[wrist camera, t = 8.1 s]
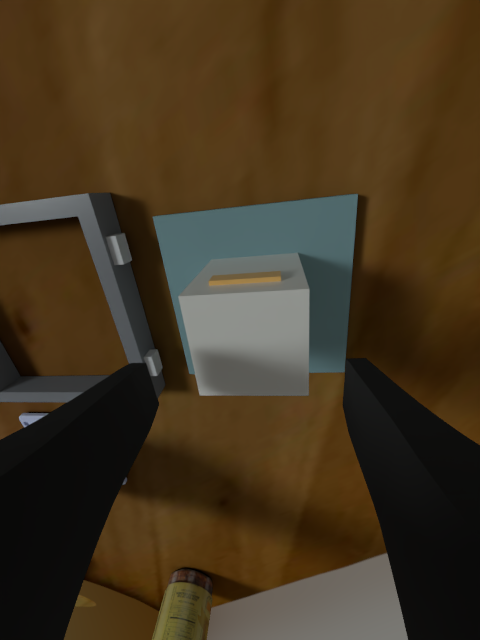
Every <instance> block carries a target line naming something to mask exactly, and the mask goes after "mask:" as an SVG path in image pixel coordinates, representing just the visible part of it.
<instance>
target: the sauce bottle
mask: <svg viewBox="0 0 480 640" xmlns="http://www.w3.org/2000/svg"><path fill="white" fill-rule="evenodd" d="M212 586H213V584H212V581H211V579H210V578H209V577H207V576H206V575H204V574H203V573H200V572H198V571H195V570H192V569H187V568H185V569H180V570H177V571H175V572H173V573H172V574H171V576H170V579H169V583H168V587H167V589H166V591H165V594H164V598H163V601H162V605H161V609H160V612H159V616H158V620H157V624H156V627H155V631H154V634H153V638H152V640H207V633H208V626H209V619H210V611H211V605H212V590H213V587H212Z"/></svg>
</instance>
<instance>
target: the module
mask: <svg viewBox="0 0 480 640" xmlns="http://www.w3.org/2000/svg"><path fill="white" fill-rule="evenodd" d="M178 298H179V303H180V307H181V312H182V316H183V321H184V325H185V330H186V334H187V339H188V344H189V348H190V353H191V357H192V362H193V366H194V371H195V376H196V380H197V385H198V389H199V394H200V395H248V396H309V286H308V283H307V280H306V277H305V274H304V271H303V268H302V264H301V261H300V258H299V255H298V253H289V254H276V255H263V256H250V257H238V258H225V259H212V260H211V261H210V262H209V263H208V264H207V265H206V266H205V267H204V268H203V269H202V271H201V272H200V273H199V274H198V275H197V276H196V277H195V278H194V279H193V281H192V282H191V283H190V284H189V285H188V286H187V287H186V288H185V289H184V291H183V292H182V293H181V294H180V295H179V296H178Z"/></svg>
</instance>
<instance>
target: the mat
mask: <svg viewBox="0 0 480 640" xmlns="http://www.w3.org/2000/svg"><path fill="white" fill-rule="evenodd" d="M357 201H358V194H348V195H339V196H330V197H322V198H313V199H304V200H295V201H286V202H277V203H268V204H259V205H250V206H241V207H232V208H223V209H214V210H205V211H196V212H187V213H178V214H169V215H160V216H154V217H153V220H154V225H155V229H156V233H157V237H158V242H159V246H160V250H161V254H162V259H163V263H164V267H165V272H166V276H167V280H168V284H169V289H170V293H171V297H172V301H173V306H174V310H175V314H176V318H177V323H178V327H179V331H180V336H181V340H182V344H183V348H184V353H185V357H186V361H187V365H188V370H189V374H195V371H194V366H193V362H192V357H191V353H190V348H189V344H188V339H187V334H186V330H185V325H184V321H183V316H182V312H181V307H180V303H179V298H178V296H179V295H180V294H181V293H182V292H183V291H184V289H185V288H186V287H187V286H188V285H189V284H190V283H191V282H192V281H193V279H194V278H195V277H196V276H197V275H198V274H199V273H200V272H201V271H202V269H203V268H204V267H205V266H206V265H207V264H208V263H209V262H210V261H211V260H212V259H225V258H238V257H250V256H263V255H276V254H289V253H298V255H299V258H300V261H301V264H302V268H303V271H304V274H305V277H306V280H307V283H308V286H309V373H315V372H345V359H346V346H347V333H348V320H349V306H350V293H351V280H352V267H353V253H354V240H355V227H356V214H357Z"/></svg>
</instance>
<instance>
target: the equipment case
mask: <svg viewBox="0 0 480 640" xmlns="http://www.w3.org/2000/svg"><path fill="white" fill-rule="evenodd" d="M76 216H78V218H79V221H80V224H81V227H82V230H83V232H84V235H85V238H86V241H87V244H88V247H89V250H90V253H91V255H92V258H93V261H94V264H95V267H96V270H97V273H98V276H99V278H100V281H101V284H102V287H103V290H104V293H105V296H106V299H107V301H108V304H109V307H110V310H111V313H112V316H113V319H114V322H115V324H116V327H117V330H118V333H119V336H120V339H121V342H122V345H123V347H124V350H125V353H126V356H127V359H128V362H129V364H130V363H146V364H147V367H148V370H149V373H150V377H151V380H152V383H153V386H154V389H155V393H156V396H157V399H158V397H159V395H160V394H161V392H162V390H163V388H164V386H165V382H164V378H163V375H162V371H161V370H162V368H163V367H162V363H161V360H160V356H159V353H158V349H155V347H154V344H153V340H152V337H151V333H150V330H149V326H148V323H147V319H146V316H145V312H144V309H143V305H142V302H141V299H140V295H139V292H138V288H137V285H136V281H135V278H134V274H133V271H132V267H131V264H130V261H132V257H131V254H130V250H129V247H128V243H127V240H126V236H125V233H121V229H120V226H119V222H118V219H117V215H116V212H115V209H114V205H113V202H112V198H111V195H110V193H87V194H79V195H72V196H64V197H57V198H49V199H41V200H34V201H26V202H19V203H11V204H3V205H0V225H8V224H16V223H25V222H33V221H42V220H50V219H59V218H68V217H76ZM108 376H110V375H104V376H20V374H19V373H18V371H17V369H16V367H15V366H14V364H13V362H12V360H11V359H10V357H9V355H8V354H7V352H6V350H5V348H4V347H3V345H2V343H1V341H0V402H69V401H70V400H72V399H74V398H75V397H77V396H79V395H80V394H82V393H83V392H85V391H86V390H88V389H89V388H91V387H93V386H94V385H96V384H97V383H99V382H100V381H102V380H104V379H105V378H107V377H108Z"/></svg>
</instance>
